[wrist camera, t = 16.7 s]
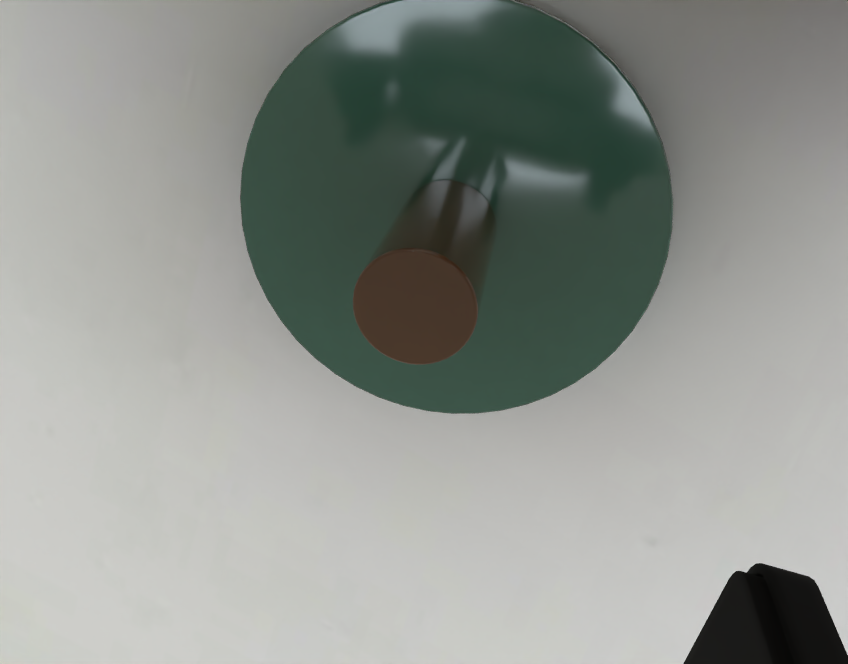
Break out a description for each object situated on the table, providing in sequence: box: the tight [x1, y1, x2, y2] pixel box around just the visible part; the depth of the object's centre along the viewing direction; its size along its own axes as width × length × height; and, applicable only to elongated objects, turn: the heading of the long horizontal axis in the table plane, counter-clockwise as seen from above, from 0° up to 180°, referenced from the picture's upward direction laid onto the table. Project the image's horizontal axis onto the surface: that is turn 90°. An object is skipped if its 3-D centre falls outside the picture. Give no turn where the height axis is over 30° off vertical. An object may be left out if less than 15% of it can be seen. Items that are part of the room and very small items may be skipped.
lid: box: [240, 0, 673, 414], centre depth 18 cm, size 11×11×6 cm
